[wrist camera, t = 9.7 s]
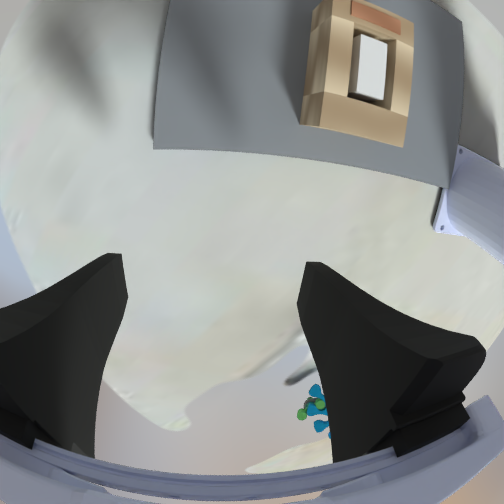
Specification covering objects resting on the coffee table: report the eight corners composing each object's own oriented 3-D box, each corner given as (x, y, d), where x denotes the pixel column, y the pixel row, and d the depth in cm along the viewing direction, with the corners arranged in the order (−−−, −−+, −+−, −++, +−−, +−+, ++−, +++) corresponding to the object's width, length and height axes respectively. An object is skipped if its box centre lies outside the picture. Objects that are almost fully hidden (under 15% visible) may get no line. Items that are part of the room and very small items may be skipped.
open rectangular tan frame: (371, 140, 15) (404, 148, 12) (299, 124, 15) (320, 126, 11) (382, 34, 12) (414, 22, 9) (312, 10, 11) (334, -11, 8)
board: (454, 23, 11) (489, 17, 7) (441, 186, 18) (477, 204, 14) (188, -54, 8) (181, -87, 4) (157, 147, 15) (135, 157, 11)
